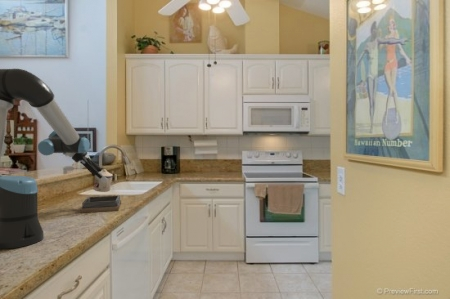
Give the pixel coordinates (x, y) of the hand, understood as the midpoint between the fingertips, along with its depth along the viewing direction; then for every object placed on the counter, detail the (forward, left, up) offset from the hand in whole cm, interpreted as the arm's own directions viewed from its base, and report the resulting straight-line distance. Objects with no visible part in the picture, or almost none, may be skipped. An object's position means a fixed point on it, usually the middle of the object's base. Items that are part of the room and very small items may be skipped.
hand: (107, 180), depth 157 cm
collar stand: (0, +3, -15) cm, 15 cm away
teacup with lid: (0, +3, -6) cm, 7 cm away
